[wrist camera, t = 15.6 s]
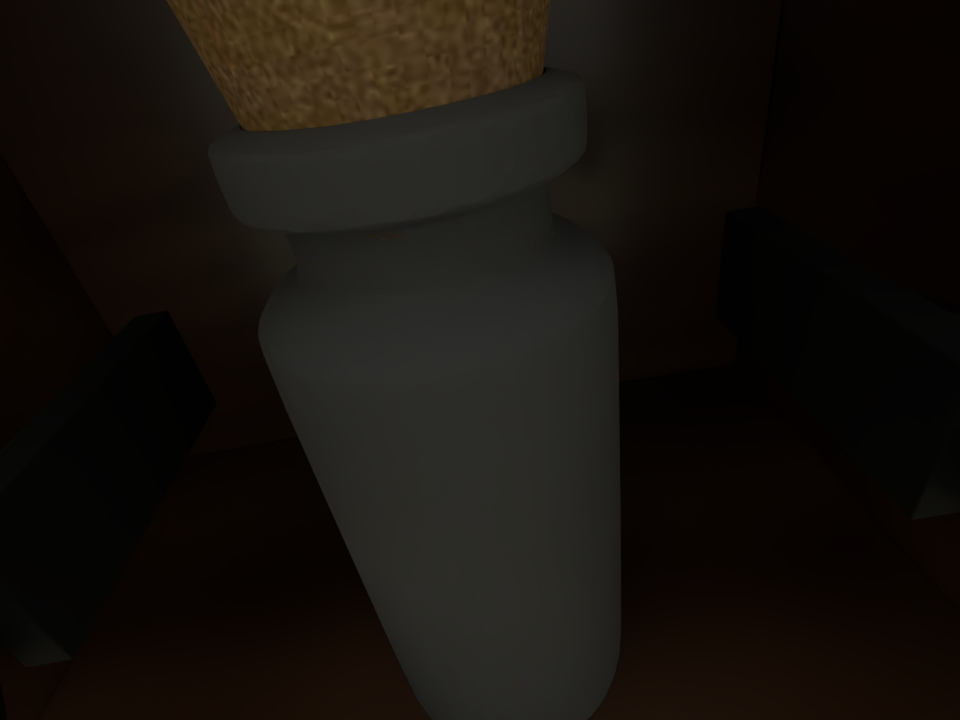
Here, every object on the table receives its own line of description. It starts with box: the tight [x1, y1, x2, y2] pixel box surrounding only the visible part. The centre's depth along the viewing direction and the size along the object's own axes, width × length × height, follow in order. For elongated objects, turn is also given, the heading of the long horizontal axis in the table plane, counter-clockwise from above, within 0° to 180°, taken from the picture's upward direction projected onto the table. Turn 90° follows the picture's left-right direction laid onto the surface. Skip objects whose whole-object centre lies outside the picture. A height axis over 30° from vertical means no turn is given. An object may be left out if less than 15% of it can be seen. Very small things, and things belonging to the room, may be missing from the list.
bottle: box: [167, 0, 621, 720], centre depth 10 cm, size 6×6×15 cm
